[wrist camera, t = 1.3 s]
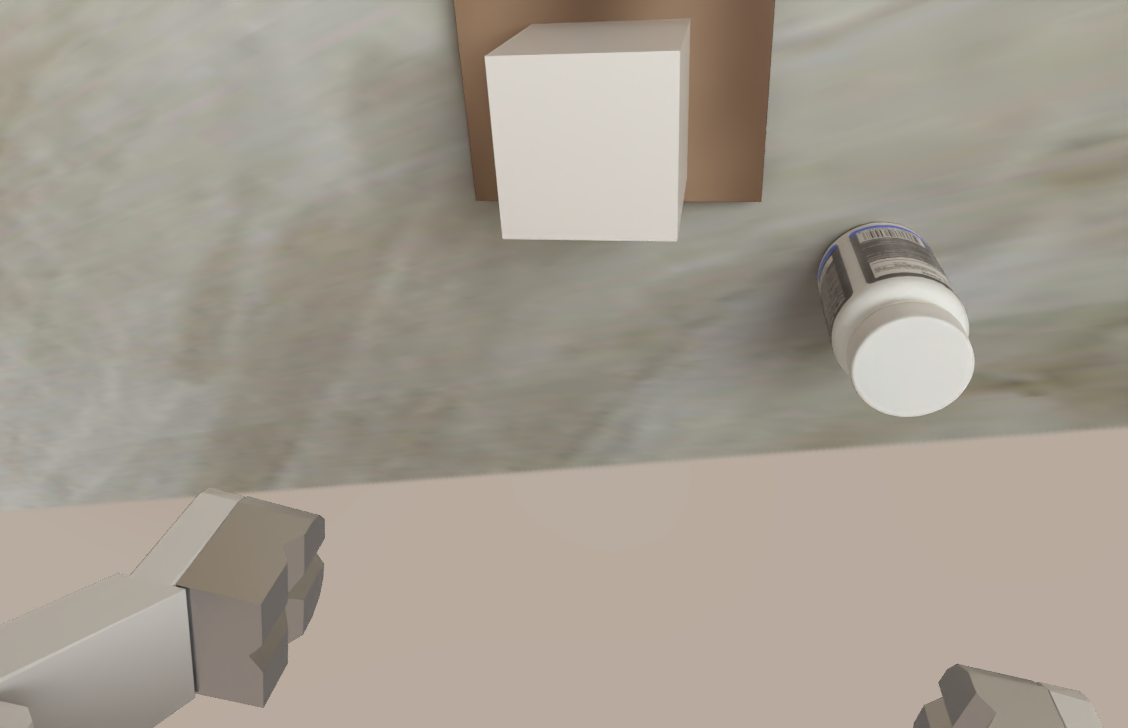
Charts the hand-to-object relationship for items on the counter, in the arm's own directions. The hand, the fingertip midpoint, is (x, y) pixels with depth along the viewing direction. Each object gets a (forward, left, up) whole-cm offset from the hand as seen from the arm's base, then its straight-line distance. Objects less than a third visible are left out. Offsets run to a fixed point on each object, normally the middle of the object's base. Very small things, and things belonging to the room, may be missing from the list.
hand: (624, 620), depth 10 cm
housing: (+3, -1, -25) cm, 25 cm away
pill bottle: (-8, +6, -27) cm, 28 cm away
